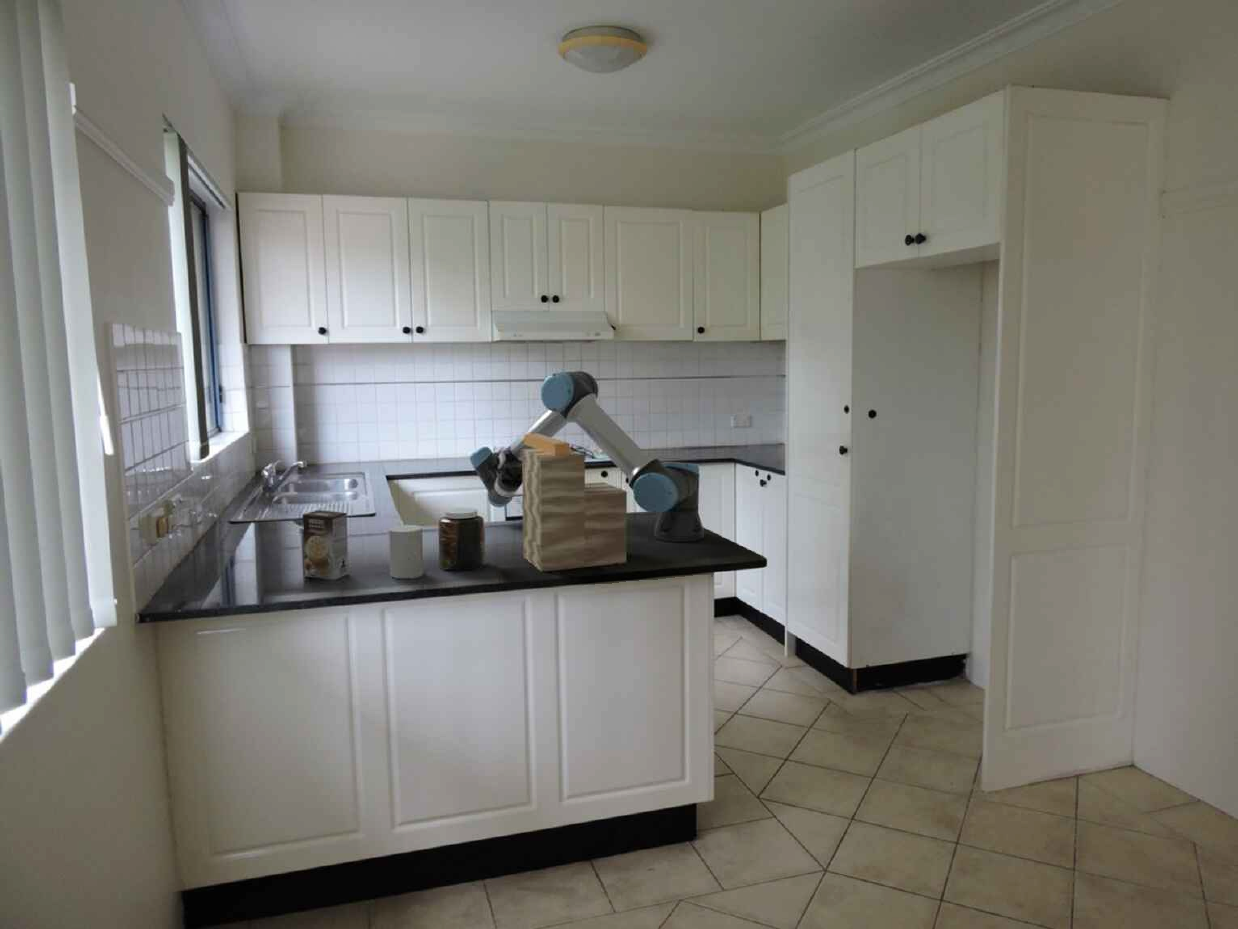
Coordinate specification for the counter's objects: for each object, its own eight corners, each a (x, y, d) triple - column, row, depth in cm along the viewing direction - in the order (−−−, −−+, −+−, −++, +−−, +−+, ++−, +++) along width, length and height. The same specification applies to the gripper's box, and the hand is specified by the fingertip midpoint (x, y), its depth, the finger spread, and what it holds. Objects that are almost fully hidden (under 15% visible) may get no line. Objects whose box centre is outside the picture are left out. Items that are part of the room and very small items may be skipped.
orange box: (569, 454, 218) (569, 443, 218) (554, 455, 216) (554, 444, 216) (538, 444, 242) (538, 433, 241) (524, 444, 240) (524, 434, 240)
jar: (463, 574, 216) (462, 516, 214) (430, 567, 222) (428, 511, 220) (493, 564, 226) (493, 509, 224) (461, 558, 232) (459, 504, 230)
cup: (414, 579, 210) (413, 532, 209) (384, 577, 212) (383, 531, 210) (428, 571, 218) (427, 525, 217) (399, 569, 220) (397, 524, 218)
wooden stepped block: (626, 562, 228) (626, 452, 224) (540, 571, 219) (539, 456, 214) (602, 548, 243) (602, 445, 239) (521, 556, 234) (520, 449, 230)
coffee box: (303, 576, 212) (300, 514, 210) (320, 570, 218) (317, 509, 216) (333, 580, 209) (331, 516, 207) (350, 574, 215) (347, 512, 213)
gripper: (549, 489, 267) (569, 464, 249) (471, 494, 257) (486, 468, 239) (545, 467, 270) (564, 440, 252) (468, 472, 260) (482, 444, 242)
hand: (526, 454), depth 245 cm, fingers open, 13 cm apart
